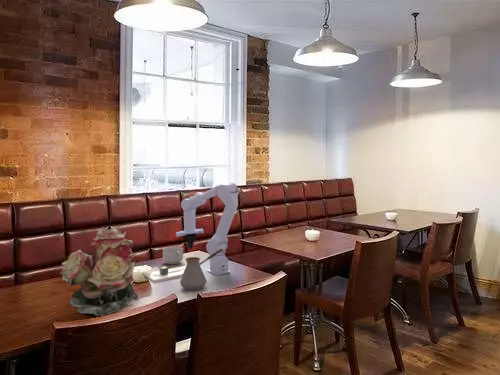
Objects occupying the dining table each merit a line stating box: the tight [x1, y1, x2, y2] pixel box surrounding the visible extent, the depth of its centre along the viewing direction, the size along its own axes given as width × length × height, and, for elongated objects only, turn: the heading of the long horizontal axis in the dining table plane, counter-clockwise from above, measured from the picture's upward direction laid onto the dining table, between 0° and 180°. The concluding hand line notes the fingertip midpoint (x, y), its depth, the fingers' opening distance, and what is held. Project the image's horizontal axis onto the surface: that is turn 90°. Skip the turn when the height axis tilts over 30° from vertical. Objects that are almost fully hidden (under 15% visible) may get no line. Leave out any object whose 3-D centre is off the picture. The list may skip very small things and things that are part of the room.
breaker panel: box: [149, 265, 186, 283], centre depth 196 cm, size 12×22×1 cm, turn 125°
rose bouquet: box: [60, 227, 140, 318], centre depth 159 cm, size 26×29×30 cm
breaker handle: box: [159, 266, 169, 275], centre depth 194 cm, size 3×3×3 cm
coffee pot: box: [179, 249, 225, 292], centre depth 180 cm, size 21×12×15 cm, turn 127°
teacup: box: [162, 246, 184, 265], centre depth 215 cm, size 14×11×8 cm
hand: (190, 248), depth 209 cm, fingers closed
